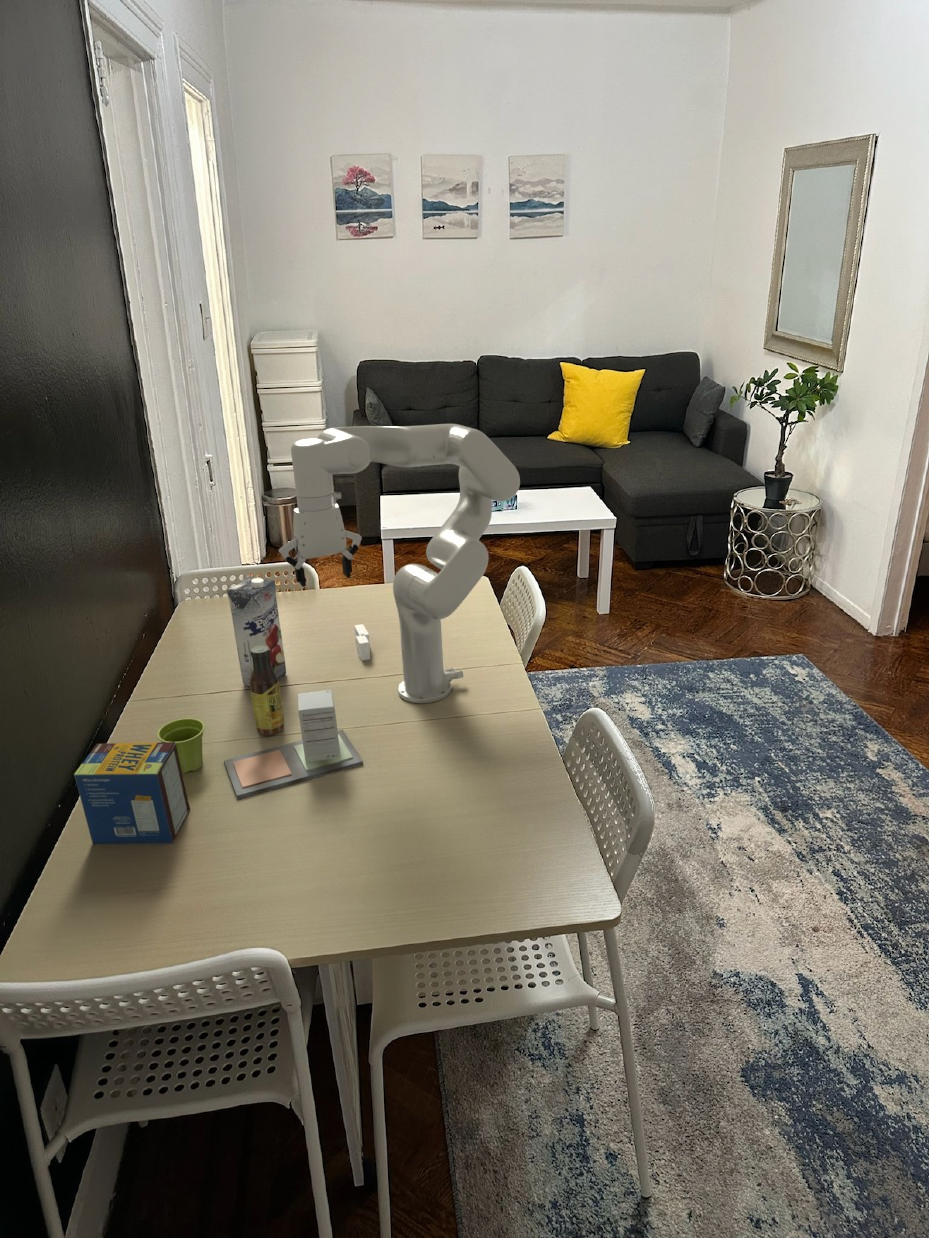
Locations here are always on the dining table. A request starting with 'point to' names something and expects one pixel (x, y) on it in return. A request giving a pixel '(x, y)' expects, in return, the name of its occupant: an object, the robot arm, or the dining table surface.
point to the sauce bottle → (265, 693)
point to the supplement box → (318, 725)
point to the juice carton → (256, 624)
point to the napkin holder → (362, 642)
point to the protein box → (133, 793)
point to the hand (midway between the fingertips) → (325, 580)
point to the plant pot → (185, 741)
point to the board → (285, 766)
